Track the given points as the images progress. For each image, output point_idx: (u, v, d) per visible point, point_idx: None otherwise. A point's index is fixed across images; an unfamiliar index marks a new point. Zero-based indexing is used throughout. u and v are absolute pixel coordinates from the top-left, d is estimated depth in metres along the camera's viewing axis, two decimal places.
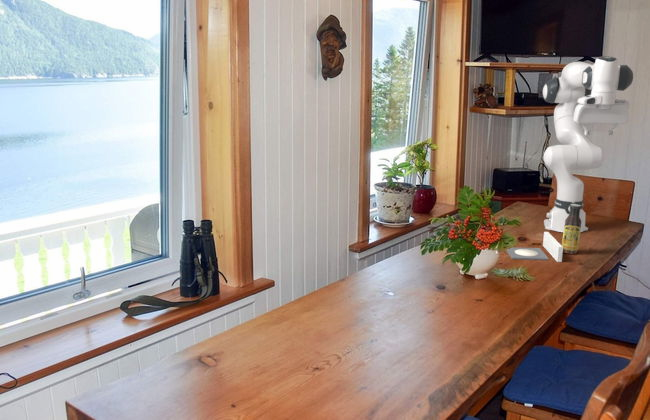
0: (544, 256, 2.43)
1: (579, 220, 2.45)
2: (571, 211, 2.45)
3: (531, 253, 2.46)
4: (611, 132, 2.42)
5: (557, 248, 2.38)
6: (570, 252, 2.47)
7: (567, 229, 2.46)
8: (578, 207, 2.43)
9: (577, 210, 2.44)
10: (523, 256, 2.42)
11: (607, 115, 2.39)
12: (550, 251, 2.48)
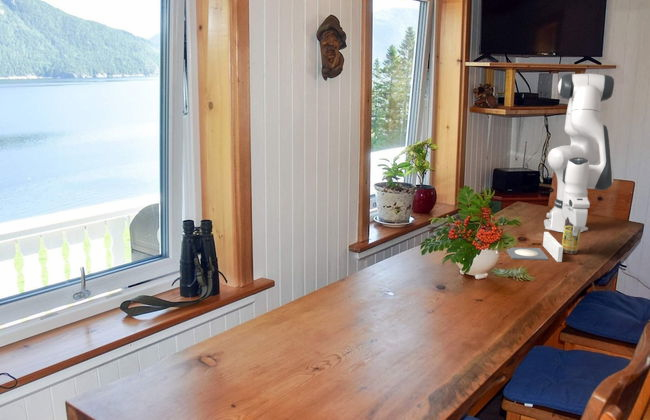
0: (544, 256, 2.43)
1: None
2: None
3: (531, 253, 2.46)
4: None
5: (557, 248, 2.38)
6: (570, 252, 2.47)
7: (567, 229, 2.45)
8: None
9: None
10: (523, 256, 2.42)
11: None
12: (550, 251, 2.48)
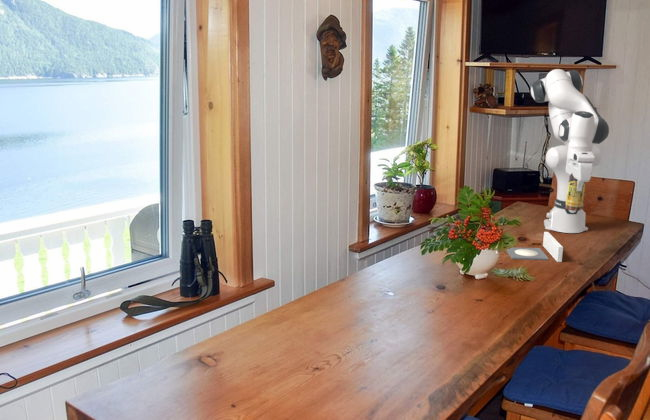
0: (544, 256, 2.43)
1: None
2: None
3: (531, 253, 2.46)
4: None
5: (557, 248, 2.38)
6: (574, 208, 2.43)
7: (572, 185, 2.42)
8: None
9: None
10: (523, 256, 2.42)
11: None
12: (550, 251, 2.48)
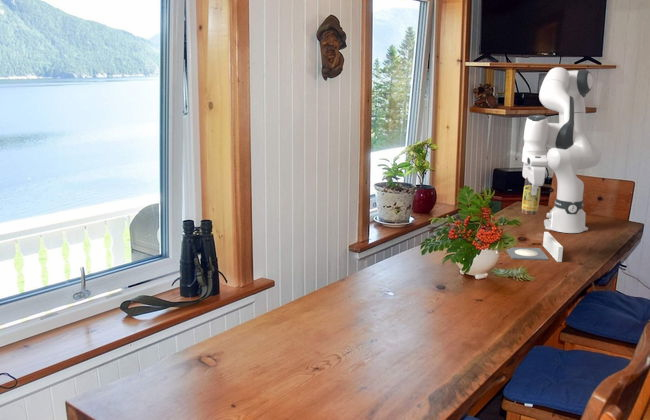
0: (544, 256, 2.43)
1: None
2: None
3: (531, 253, 2.46)
4: None
5: (557, 248, 2.38)
6: (530, 213, 2.41)
7: (527, 189, 2.39)
8: None
9: None
10: (523, 256, 2.42)
11: None
12: (550, 251, 2.48)
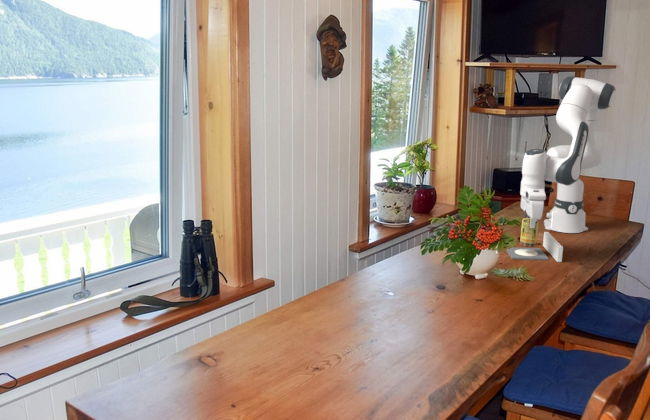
0: (544, 256, 2.43)
1: None
2: None
3: (531, 253, 2.46)
4: None
5: (557, 248, 2.38)
6: (528, 245, 2.43)
7: (525, 222, 2.42)
8: None
9: None
10: (523, 256, 2.42)
11: None
12: (550, 251, 2.48)
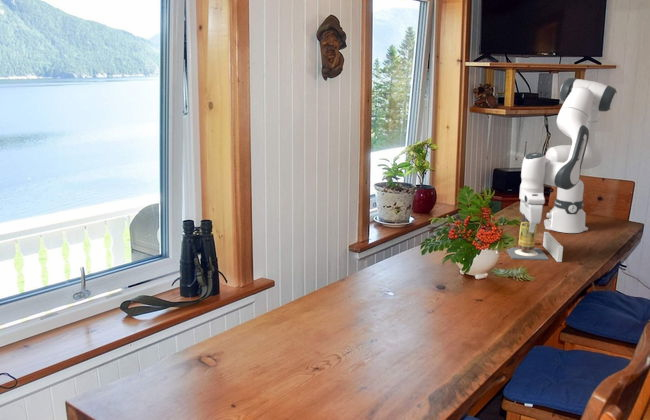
0: (544, 256, 2.43)
1: None
2: None
3: (531, 253, 2.46)
4: None
5: (557, 248, 2.38)
6: (526, 248, 2.45)
7: (523, 225, 2.44)
8: None
9: None
10: (523, 256, 2.42)
11: None
12: (550, 251, 2.48)
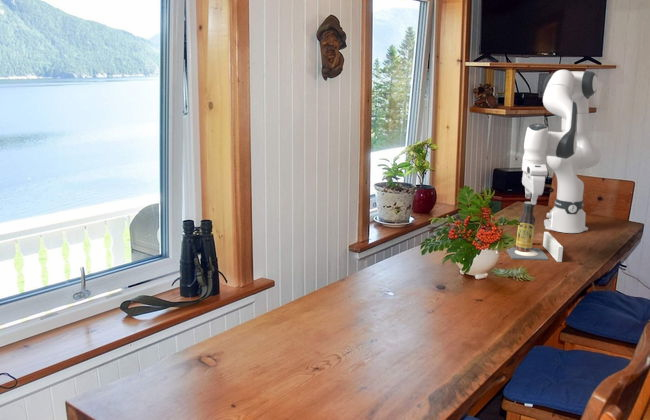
0: (544, 256, 2.43)
1: (532, 217, 2.45)
2: (525, 209, 2.45)
3: (531, 253, 2.46)
4: None
5: (557, 248, 2.38)
6: (524, 249, 2.48)
7: (521, 227, 2.46)
8: (531, 205, 2.44)
9: (530, 208, 2.44)
10: (523, 256, 2.42)
11: None
12: (550, 251, 2.48)
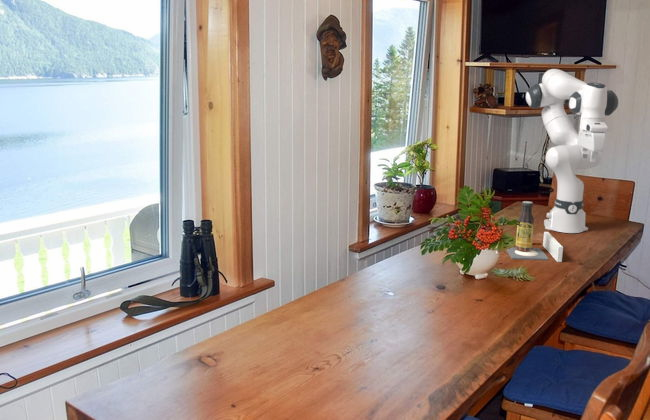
0: (544, 256, 2.43)
1: (531, 217, 2.46)
2: (523, 208, 2.46)
3: (531, 253, 2.46)
4: None
5: (557, 248, 2.38)
6: (524, 249, 2.48)
7: (520, 226, 2.47)
8: (529, 204, 2.44)
9: (529, 207, 2.45)
10: (523, 256, 2.42)
11: None
12: (550, 251, 2.48)
